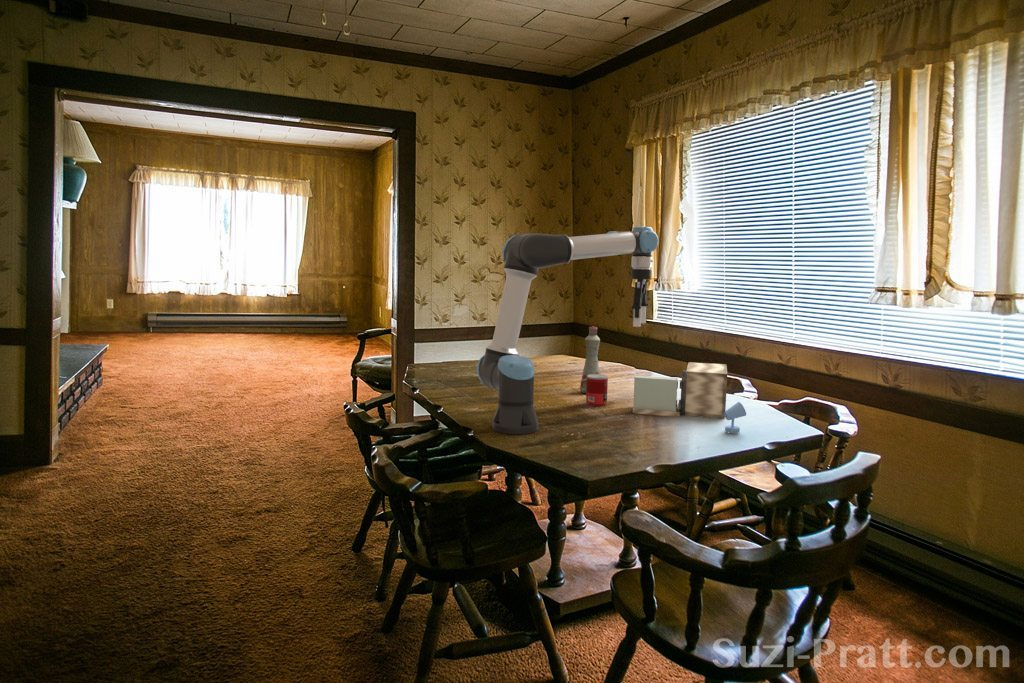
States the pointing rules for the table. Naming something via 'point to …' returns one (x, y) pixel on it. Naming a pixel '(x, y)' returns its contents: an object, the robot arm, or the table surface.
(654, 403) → the door
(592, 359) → the bottle
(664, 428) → the table surface
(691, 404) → the cabinet
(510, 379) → the robot arm
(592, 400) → the canned food
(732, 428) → the spotlight
